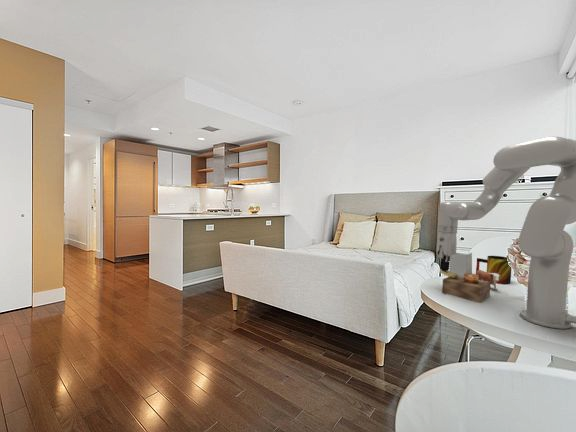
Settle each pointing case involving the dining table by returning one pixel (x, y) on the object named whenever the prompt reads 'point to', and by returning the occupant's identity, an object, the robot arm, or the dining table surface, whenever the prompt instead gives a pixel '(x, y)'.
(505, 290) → the dining table surface
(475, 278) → the orange-brown domed cylinder
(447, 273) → the plate
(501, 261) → the mug
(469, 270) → the skincare box
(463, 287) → the block
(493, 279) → the bull figurine
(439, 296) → the dining table surface
